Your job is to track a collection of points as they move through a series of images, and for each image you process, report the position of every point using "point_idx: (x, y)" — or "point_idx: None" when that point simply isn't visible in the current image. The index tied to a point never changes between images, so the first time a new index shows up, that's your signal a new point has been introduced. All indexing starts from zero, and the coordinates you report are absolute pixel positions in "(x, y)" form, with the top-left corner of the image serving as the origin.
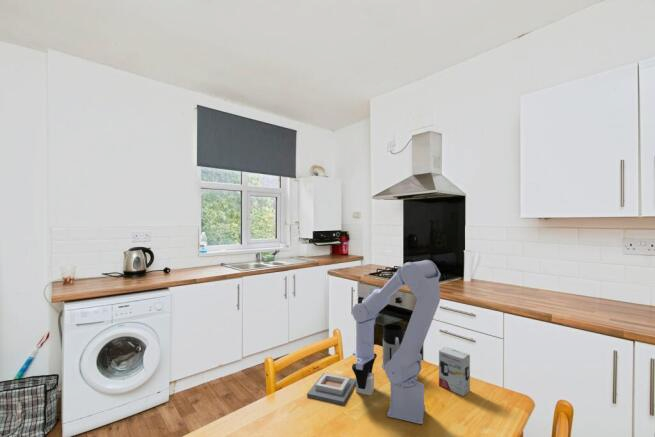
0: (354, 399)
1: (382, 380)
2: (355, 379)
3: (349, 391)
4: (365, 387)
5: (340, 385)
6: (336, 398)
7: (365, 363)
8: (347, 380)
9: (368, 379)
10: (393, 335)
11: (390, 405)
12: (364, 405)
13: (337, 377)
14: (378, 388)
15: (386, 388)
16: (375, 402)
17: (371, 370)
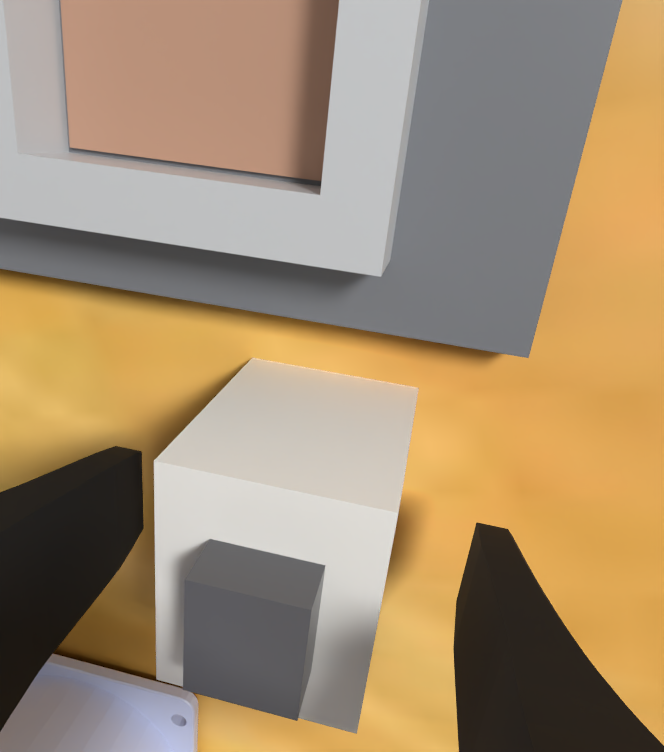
0: (99, 354)
1: (621, 662)
2: (513, 345)
3: (150, 293)
4: (136, 538)
5: (249, 119)
6: None
7: (499, 746)
8: (286, 249)
9: (158, 641)
10: None
11: (99, 680)
12: (44, 462)
13: (346, 7)
14: (410, 604)
15: (429, 677)
16: (134, 559)
17: (458, 718)
